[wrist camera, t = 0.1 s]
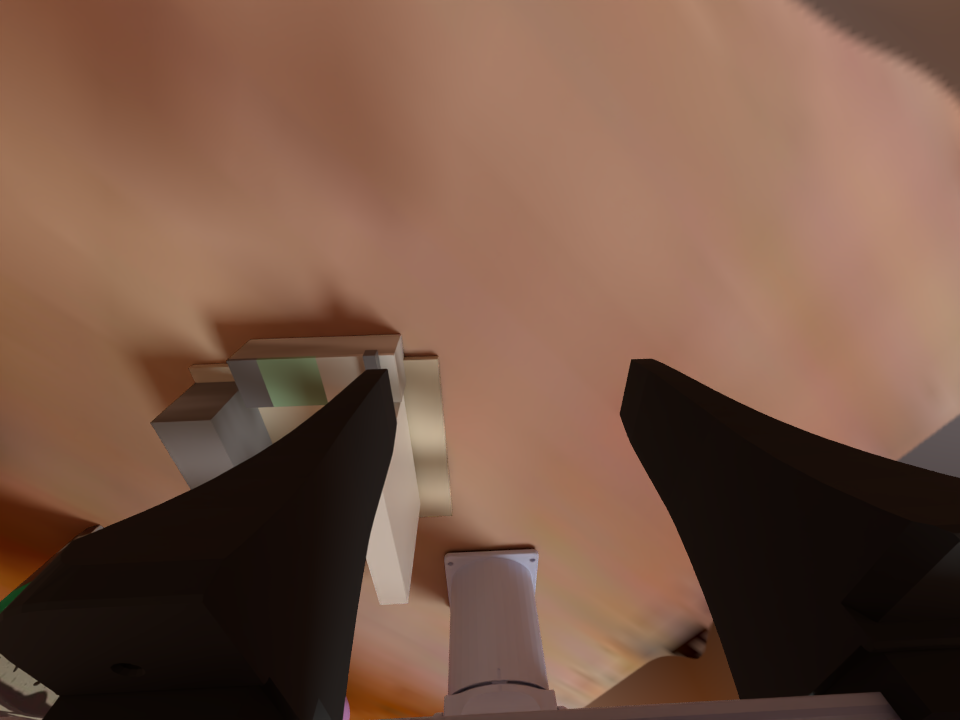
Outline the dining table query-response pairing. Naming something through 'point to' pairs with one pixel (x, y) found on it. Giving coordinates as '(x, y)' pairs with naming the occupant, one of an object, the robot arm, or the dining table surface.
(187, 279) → the dining table surface
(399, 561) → the pad
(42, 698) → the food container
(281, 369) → the frame
